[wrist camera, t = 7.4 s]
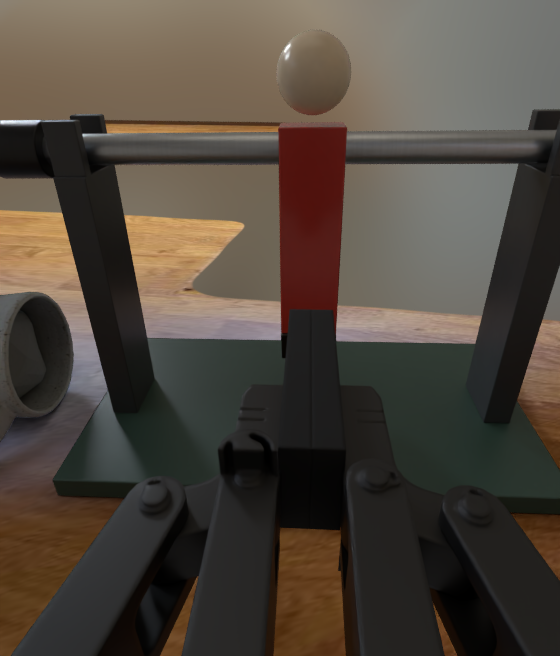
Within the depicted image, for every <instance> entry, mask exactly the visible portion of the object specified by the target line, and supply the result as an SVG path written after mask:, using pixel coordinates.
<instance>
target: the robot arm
mask: <svg viewBox="0 0 560 656" xmlns="http://www.w3.org/2000/svg"><path fill="white" fill-rule="evenodd" d="M218 458H219V466H220V473H219V474H218V475H216V476H215V477H213V478H211V479H209V480H207V481H204V482H201V483H197V484H192V485H188V486H183V485H182V484H181V482H180V481H179V480H177V479H175V478H173V477H170V476H156V477H151V478H147V479H146V480H144V481H142V482H140V483H138V484H137V485H136V486H135V487H134V488H133V489H132V490H131V491H130V492H129V493H128V494H127V496H126V497H125V498H124V500H123V501H122V503H121V504H120V505H119V507H118V508H117V509H116V511H115V512H114V514H113V515H112V516H111V518H110V519H109V520H108V522H107V523H106V525H105V526H104V527H103V529H102V530H101V532H100V533H99V534H98V536H97V537H96V538H95V540H94V541H93V543H92V544H91V545H90V547H89V548H88V550H87V551H86V552H85V554H84V555H83V556H82V558H81V559H80V561H79V562H78V563H77V565H76V566H75V567H74V569H73V570H72V572H71V573H70V574H69V576H68V577H67V579H66V580H65V581H64V583H63V584H62V585H61V587H60V588H59V590H58V591H57V592H56V594H55V595H54V596H53V598H52V599H51V601H50V602H49V603H48V605H47V606H46V608H45V609H44V610H43V612H42V613H41V614H40V616H39V617H38V619H37V620H36V621H35V623H34V624H33V626H32V627H31V628H30V630H29V631H28V632H27V634H26V635H25V637H24V638H23V639H22V641H21V642H20V643H19V645H18V646H17V648H16V649H15V650H14V652H13V653H12V655H11V656H160V654H161V652H162V650H163V648H164V646H165V644H166V641H167V639H168V637H169V635H170V633H171V631H172V629H173V627H174V624H175V622H176V620H177V618H178V616H179V614H180V612H181V610H182V608H183V605H184V603H185V601H186V599H187V597H188V595H189V593H190V591H191V588H192V586H193V584H194V582H195V580H196V577H197V576H199V577H198V582H197V586H196V591H195V596H194V600H193V605H192V610H191V614H190V619H189V624H188V628H187V633H186V637H185V642H184V647H183V651H182V656H273V653H274V636H275V619H276V603H277V586H278V570H279V553H280V539H279V535H280V528H302V529H326V530H340V528H341V544H340V556H339V568H338V571H341V579H342V596H343V613H344V631H345V648H346V656H445V655H444V651H443V646H442V642H441V637H440V633H439V629H438V624H437V620H436V615H435V611H434V606H433V603H434V605H435V608H436V610H437V612H438V614H439V616H440V618H441V621H442V623H443V625H444V627H445V629H446V631H447V633H448V636H449V638H450V640H451V642H452V644H453V646H454V649H455V651H456V653H457V655H458V656H560V581H559V580H558V578H557V577H556V575H555V574H554V573H553V571H552V570H551V569H550V567H549V566H548V564H547V563H546V562H545V560H544V559H543V558H542V556H541V555H540V554H539V552H538V551H537V549H536V548H535V547H534V545H533V544H532V543H531V541H530V540H529V538H528V537H527V536H526V534H525V533H524V532H523V530H522V529H521V527H520V526H519V525H518V523H517V522H516V521H515V519H514V518H513V516H512V515H511V514H510V512H509V511H508V510H507V508H506V507H505V505H504V504H503V503H502V502H501V501H500V500H499V499H498V498H497V497H496V496H494V495H493V494H491V493H489V492H488V491H486V490H484V489H482V488H478V487H475V486H471V485H459V486H456V487H453V488H451V489H449V490H448V491H447V492H446V494H445V495H442V494H439V493H436V492H432V491H429V490H426V489H423V488H421V487H418V486H416V485H414V484H413V483H411V482H409V481H408V480H407V479H406V478H405V477H404V476H403V475H402V473H401V472H400V471H399V470H398V469H397V466H396V464H395V460H394V455H393V451H392V446H391V441H390V437H389V432H388V427H387V423H386V418H385V413H384V409H383V404H382V399H381V397H380V395H379V394H378V393H377V392H376V391H375V389H374V388H373V387H372V386H353V385H340V378H339V367H338V356H337V346H336V335H335V324H334V314H333V310H312V309H290V310H289V322H288V334H287V346H286V357H285V369H284V381H283V385H263V384H251V386H250V387H249V388H248V389H247V390H246V391H245V393H244V394H243V395H242V400H241V404H240V410H239V414H238V420H237V424H236V429H235V432H233V433H231V434H229V435H228V436H227V437H225V438H224V439H223V440H222V441H221V443H220V445H219V447H218ZM432 601H433V602H432Z"/></svg>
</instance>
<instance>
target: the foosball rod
mask: <svg viewBox="0 0 560 656" xmlns="http://www.w3.org/2000/svg"><path fill="white" fill-rule="evenodd" d="M350 78H351V63H350V59H349V55H348V53H347V51H346V49H345V47H344V45H343V44H342V43H341V42H340V40H339V39H338V38H336V37H335V36H334V35H332V34H330V33H328V32H325V31H322V30H308V31H304V32H302V33H300V34H298V35H296V36H295V37H294V38H292V39H291V40H290V41H289V42H288V43H287V45H286V46H285V48H284V49H283V51H282V52H281V55H280V57H279V60H278V64H277V83H278V87H279V91H280V93H281V95H282V97H283V98H284V100H285V101H286V103H287V104H288V105H289V106H290V107H291V108H293V109H294V110H296V111H298V112H299V113H302V114H306V115H319V114H323V113H325V112H327V111H329V110H331V109H333V108H334V107H335V106H336V105H337V104H338V103H339V102H340V101H341V100H342V99H343V97H344V95H345V94H346V91H347V89H348V87H349V83H350ZM42 121H45V120H13V121H12V120H2V121H0V177H3V178H6V179H8V178H54V177H55V175H54V171H53V167H52V163H51V159H50V155H49V151H48V148H47V144H46V140H45V136H44V132H43V128H42V124H41V122H42ZM556 131H557V130H493V131H492V130H489V131H487V130H485V131H484V130H482V131H480V130H479V131H363V132H362V131H358V132H347V127H346V125H345V124H344V123H343V122H329V123H328V122H327V123H326V122H322V123H281V125H280V127H279V129H278V132H232V133H109V134H82V135H83V139H84V144H85V148H86V153H87V158H88V162H89V165H247V164H248V165H249V164H250V165H254V164H255V165H258V164H259V165H262V164H263V165H266V164H279V204H280V205H279V208H280V276H281V357H282V358H285V357H286V346H287V334H288V322H289V310H290V309H312V310H333V314H334V324H335V335H336V322H337V303H338V286H339V267H340V249H341V232H342V213H343V195H344V178H345V164H485V163H487V164H494V163H495V164H498V163H501V164H504V163H505V164H507V163H509V164H510V163H548V161H549V157H550V153H551V149H552V146H553V142H554V138H555V135H556Z"/></svg>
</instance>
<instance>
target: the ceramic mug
mask: <svg viewBox="0 0 560 656" xmlns="http://www.w3.org/2000/svg"><path fill="white" fill-rule="evenodd" d="M73 357H74V354H73V343H72V338H71V333H70V329H69V325H68V323H67V320H66V318H65V316H64V314H63V312H62V310H61V308H60V307H59V305H58V304H57V303H56V302H55V301H54V300H53V299H51V298H50V297H49V296H47V295H45V294H43V293H39V292H25V293H16V294H8V295H0V442H1V440H2V439H3V437H4V436H5V434H6V433H7V431H8V430H9V428H10V426H11V424H12V422H13V420H14V419H15V417H40V416H44V415H46V414H48V413H49V412H51V411H52V410H54V409H55V408H56V407H57V406H58V404H59V403H60V402H61V400H62V399H63V397H64V396H65V393H66V392H67V389H68V386H69V383H70V380H71V374H72V369H73Z"/></svg>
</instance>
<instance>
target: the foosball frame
mask: <svg viewBox="0 0 560 656" xmlns="http://www.w3.org/2000/svg"><path fill="white" fill-rule="evenodd" d="M41 124H42V128H43V132H44V136H45V140H46V144H47V148H48V151H49V155H50V159H51V163H52V167H53V171H54V175H55V177H54V178H53V179H54V183H55V186H56V190H57V194H58V198H59V202H60V206H61V210H62V214H63V217H64V221H65V225H66V229H67V233H68V237H69V241H70V245H71V249H72V252H73V256H74V260H75V264H76V268H77V272H78V276H79V280H80V283H81V287H82V291H83V295H84V299H85V303H86V307H87V311H88V315H89V318H90V322H91V326H92V330H93V334H94V338H95V342H96V346H97V349H98V353H99V357H100V361H101V365H102V369H103V373H104V377H105V381H106V384H107V388H108V391H107V393H106V394H105V396H104V397H103V399H102V401H101V402H100V404H99V405H98V407H97V409H96V410H95V412H94V414H93V415H92V417H91V418H90V420H89V422H88V423H87V425H86V426H85V428H84V430H83V431H82V433H81V435H80V436H79V438H78V439H77V441H76V443H75V444H74V446H73V447H72V449H71V451H70V452H69V454H68V455H67V457H66V459H65V460H64V462H63V464H62V465H61V467H60V468H59V470H58V472H57V473H56V475H55V476H54V478H53V483H54V486H55V488H56V491H57V494H58V495H66V496H92V497H118V498H125V497H126V496H127V494H128V493H129V492H130V491H131V490H132V489H133V488H134V487H135V486H136V485H137V484H138V483H140V482H142V481H144V480H146V479H147V478H151V477H156V476H170V477H173V478H175V479H177V480H179V481H180V482H181V484H182V485H183V486H188V485H192V484H197V483H201V482H204V481H207V480H209V479H211V478H213V477H215V476H216V475H218V474H219V473H220V466H219V458H218V447H219V445H220V443H221V441H222V440H223V439H224V438H225V437H227V436H228V435H229V434H231V433H233V432H235V429H236V424H237V420H238V414H239V410H240V404H241V400H242V395H243V394H244V393H245V391H246V390H247V389H248V388H249V387H250V386H251V384H263V385H283V381H284V369H285V358H282V357H281V340H226V339H169V338H147V335H146V329H145V324H144V319H143V313H142V308H141V303H140V298H139V292H138V287H137V282H136V276H135V271H134V266H133V261H132V255H131V250H130V245H129V239H128V234H127V229H126V224H125V218H124V213H123V208H122V203H121V197H120V192H119V187H118V181H117V176H116V171H115V165H89V162H88V158H87V153H86V148H85V144H84V139H83V135H82V134H107V130H106V125H105V120H104V115H102V114H75V115H71V116H70V120H47V121H42V122H41ZM528 130H557V131H556V135H555V138H554V142H553V146H552V149H551V153H550V157H549V161H548V163H519V164H518V169H517V173H516V177H515V181H514V186H513V190H512V194H511V198H510V202H509V206H508V211H507V215H506V219H505V223H504V227H503V231H502V235H501V240H500V244H499V248H498V252H497V257H496V261H495V265H494V269H493V273H492V277H491V282H490V286H489V290H488V294H487V298H486V303H485V307H484V311H483V315H482V319H481V323H480V327H479V332H478V336H477V340H476V344H452V343H396V342H339V341H336V346H337V356H338V367H339V378H340V385H353V386H372V387H373V388H374V389H375V391H376V392H377V393H378V394H379V395H380V397H381V399H382V404H383V409H384V413H385V418H386V423H387V427H388V432H389V437H390V441H391V446H392V451H393V455H394V460H395V464H396V466H397V469H398V470H399V471H400V472H401V473H402V475H403V476H404V477H405V478H406V479H407V480H408V481H409V482H411V483H413V484H414V485H416V486H418V487H421V488H423V489H426V490H429V491H432V492H436V493H439V494H442V495H445V494H446V492H447V491H448V490H449V489H451V488H453V487H456V486H459V485H471V486H475V487H478V488H482V489H484V490H486V491H488V492H489V493H491V494H493V495H494V496H496V497H497V498H498V499H499V500H500V501H501V502H502V503H503V504H504V505H505V507H506V508H507V510H508V511H509V512H514V513H541V514H560V470H559V468H558V467H557V465H556V463H555V462H554V460H553V459H552V457H551V455H550V454H549V452H548V450H547V449H546V447H545V446H544V444H543V442H542V441H541V439H540V438H539V436H538V434H537V433H536V431H535V429H534V428H533V426H532V425H531V423H530V421H529V420H528V418H527V416H526V415H525V413H524V412H523V410H522V408H521V407H520V405H519V404H518V402H517V398H518V395H519V392H520V389H521V386H522V383H523V379H524V376H525V373H526V370H527V367H528V364H529V360H530V357H531V354H532V351H533V348H534V345H535V341H536V338H537V335H538V332H539V329H540V326H541V323H542V319H543V316H544V313H545V310H546V307H547V304H548V300H549V297H550V294H551V291H552V288H553V285H554V281H555V278H556V275H557V272H558V269H559V266H560V109H550V110H549V109H547V110H546V109H544V110H533V112H532V116H531V120H530V124H529V128H528Z"/></svg>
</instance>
